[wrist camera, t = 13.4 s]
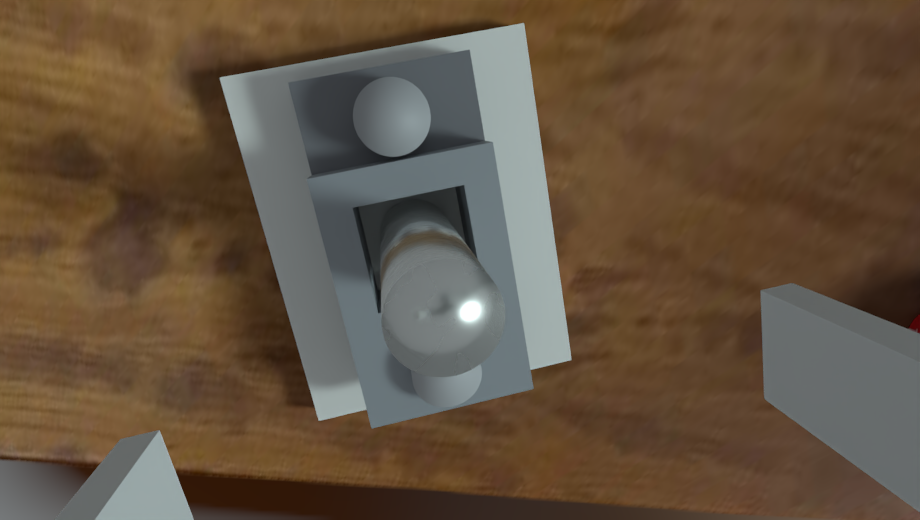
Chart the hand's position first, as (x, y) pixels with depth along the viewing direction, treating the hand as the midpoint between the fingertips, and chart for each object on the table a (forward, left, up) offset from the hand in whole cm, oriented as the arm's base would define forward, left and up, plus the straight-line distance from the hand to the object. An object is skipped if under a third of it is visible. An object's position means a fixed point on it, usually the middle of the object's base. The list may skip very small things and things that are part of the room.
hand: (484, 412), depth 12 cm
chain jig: (0, 0, -21) cm, 21 cm away
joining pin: (0, 0, -20) cm, 20 cm away
